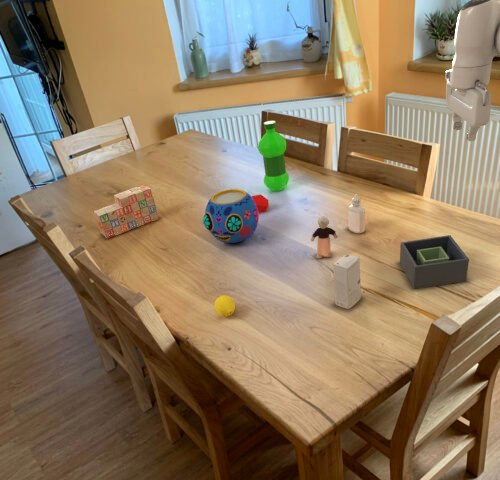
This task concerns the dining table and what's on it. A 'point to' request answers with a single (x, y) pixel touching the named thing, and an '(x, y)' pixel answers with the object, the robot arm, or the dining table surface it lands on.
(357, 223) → the eye dropper bottle
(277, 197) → the dining table surface
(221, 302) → the lemon
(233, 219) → the ceramic pot
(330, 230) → the grandmother figurine
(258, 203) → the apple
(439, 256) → the small bin
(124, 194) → the stack of blocks
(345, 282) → the cosmetic box
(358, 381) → the dining table surface
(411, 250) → the big bin
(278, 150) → the plastic bottle
